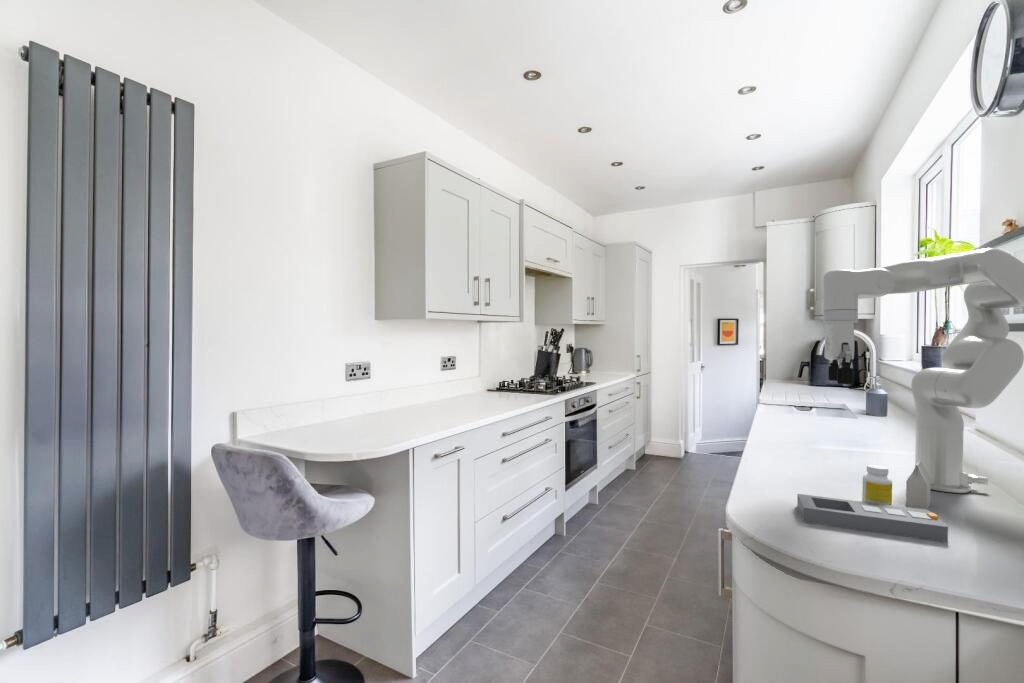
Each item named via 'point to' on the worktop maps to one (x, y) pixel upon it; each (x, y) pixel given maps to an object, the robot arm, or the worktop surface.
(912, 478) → the white gable-top box
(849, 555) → the worktop surface
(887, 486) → the supplement bottle
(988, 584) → the worktop surface
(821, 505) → the power strip
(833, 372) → the robot arm
